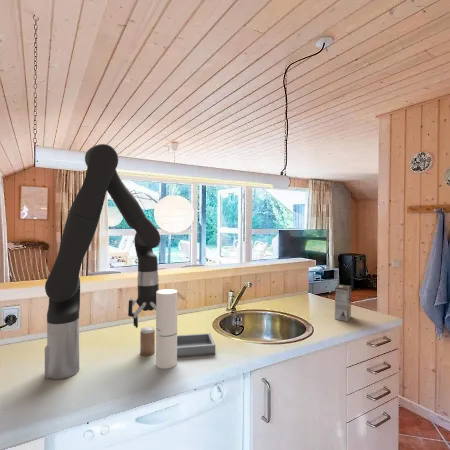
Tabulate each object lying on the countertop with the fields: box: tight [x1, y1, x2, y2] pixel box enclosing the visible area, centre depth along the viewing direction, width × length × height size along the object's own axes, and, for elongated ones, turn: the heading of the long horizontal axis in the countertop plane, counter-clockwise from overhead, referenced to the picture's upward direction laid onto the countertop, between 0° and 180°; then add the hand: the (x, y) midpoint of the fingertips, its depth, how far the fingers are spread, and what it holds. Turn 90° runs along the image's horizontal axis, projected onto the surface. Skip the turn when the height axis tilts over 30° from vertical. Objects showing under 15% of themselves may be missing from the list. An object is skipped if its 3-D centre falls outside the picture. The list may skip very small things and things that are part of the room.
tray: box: [177, 332, 216, 359], centre depth 119 cm, size 15×12×4 cm
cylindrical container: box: [155, 288, 178, 369], centre depth 107 cm, size 7×7×25 cm
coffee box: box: [334, 284, 352, 322], centre depth 159 cm, size 9×6×16 cm
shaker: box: [139, 326, 156, 357], centre depth 116 cm, size 5×5×9 cm
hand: (148, 326), depth 115 cm, fingers open, 8 cm apart
